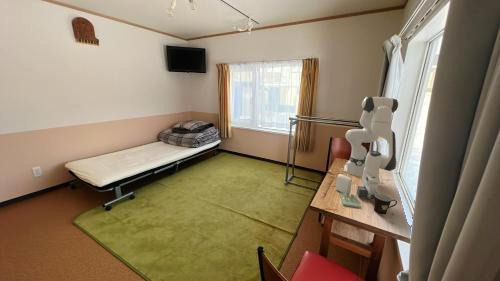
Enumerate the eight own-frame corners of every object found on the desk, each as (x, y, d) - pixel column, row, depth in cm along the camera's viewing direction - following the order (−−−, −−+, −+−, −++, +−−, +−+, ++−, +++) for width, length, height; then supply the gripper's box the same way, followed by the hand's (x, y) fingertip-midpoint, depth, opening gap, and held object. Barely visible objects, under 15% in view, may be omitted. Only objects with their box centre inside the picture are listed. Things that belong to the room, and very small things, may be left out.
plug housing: (356, 193, 139) (357, 185, 138) (373, 195, 137) (374, 188, 135) (358, 197, 135) (359, 189, 133) (375, 199, 132) (377, 191, 130)
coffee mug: (371, 212, 118) (374, 198, 116) (372, 205, 125) (375, 191, 123) (394, 220, 112) (398, 204, 109) (394, 212, 119) (398, 197, 116)
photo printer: (334, 189, 145) (336, 173, 142) (338, 187, 147) (340, 172, 144) (347, 195, 136) (349, 179, 133) (350, 194, 139) (353, 178, 135)
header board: (339, 194, 138) (340, 188, 137) (355, 196, 136) (356, 190, 134) (343, 205, 125) (344, 198, 124) (360, 208, 123) (361, 201, 121)
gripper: (361, 168, 142) (358, 185, 145) (369, 181, 123) (365, 200, 126) (370, 169, 140) (367, 187, 144) (381, 182, 121) (376, 202, 125)
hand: (366, 193), depth 135 cm, fingers open, 7 cm apart
